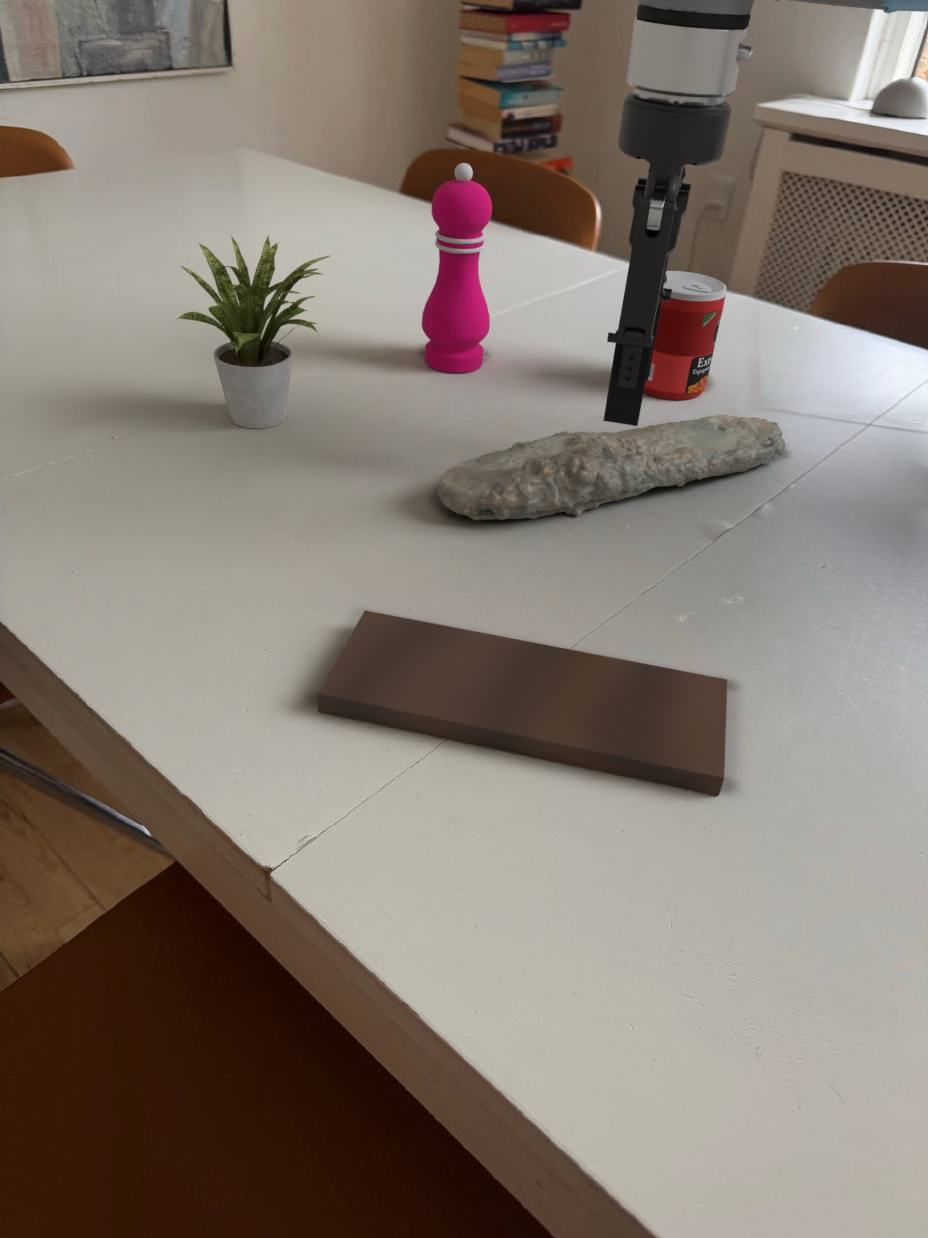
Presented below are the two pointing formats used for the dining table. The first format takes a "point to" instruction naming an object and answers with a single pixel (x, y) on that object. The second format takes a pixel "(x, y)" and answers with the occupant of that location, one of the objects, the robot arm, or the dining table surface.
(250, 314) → the house plant
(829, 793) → the dining table surface
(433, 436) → the dining table surface
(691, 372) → the canned food
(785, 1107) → the dining table surface
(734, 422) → the elongated rock
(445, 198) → the pepper mill
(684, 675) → the bread board
